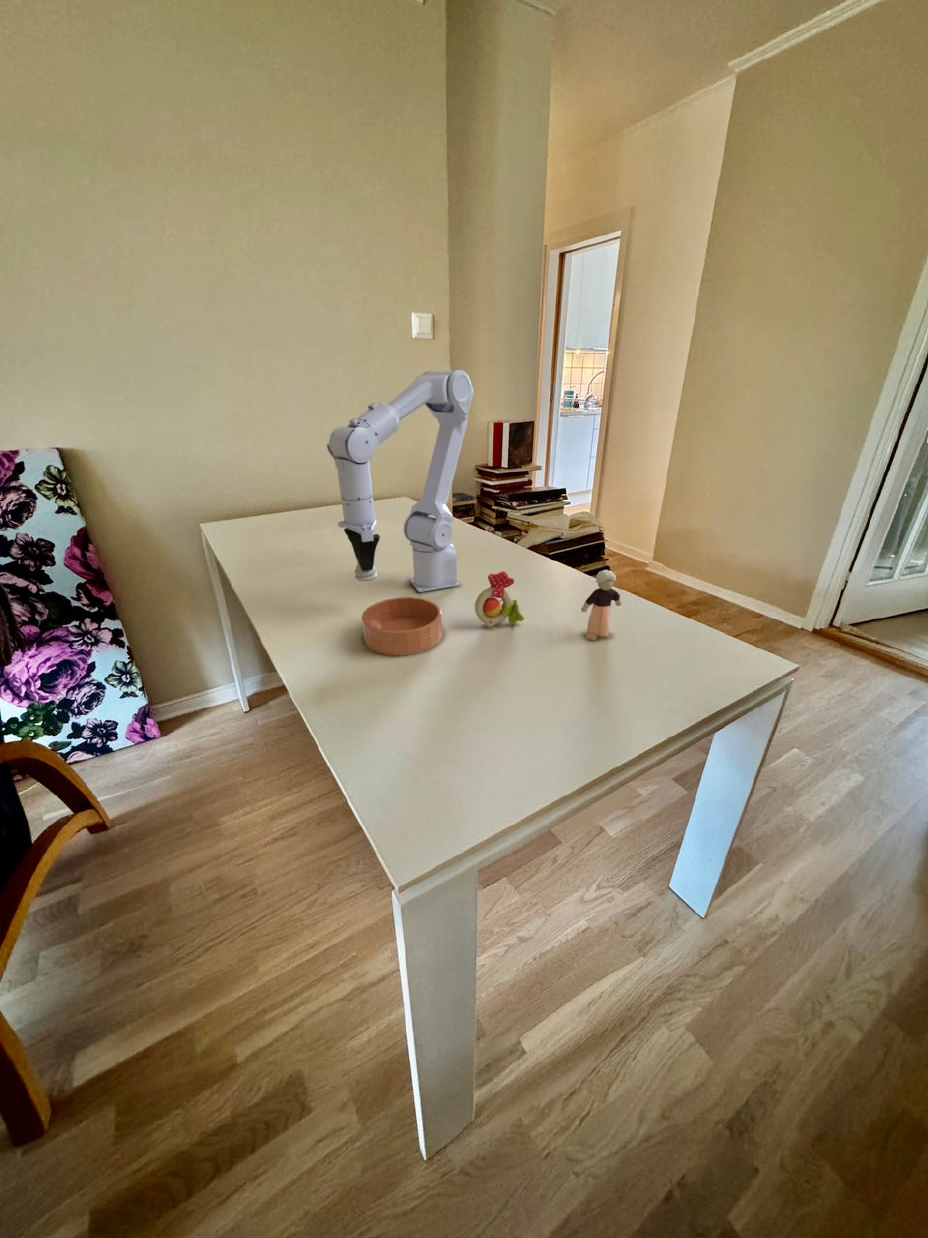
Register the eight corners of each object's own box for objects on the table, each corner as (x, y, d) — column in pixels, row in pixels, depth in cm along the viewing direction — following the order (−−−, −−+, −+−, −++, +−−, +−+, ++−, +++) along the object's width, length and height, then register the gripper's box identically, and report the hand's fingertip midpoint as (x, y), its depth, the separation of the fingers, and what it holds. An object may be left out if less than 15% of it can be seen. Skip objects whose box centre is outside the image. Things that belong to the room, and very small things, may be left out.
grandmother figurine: (589, 644, 84) (597, 578, 79) (575, 635, 87) (582, 570, 82) (622, 634, 88) (632, 569, 82) (607, 625, 91) (616, 562, 85)
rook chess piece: (382, 576, 96) (378, 537, 92) (366, 583, 93) (362, 544, 89) (365, 572, 98) (361, 534, 94) (350, 579, 95) (344, 540, 91)
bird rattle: (496, 644, 89) (535, 617, 91) (474, 599, 83) (516, 571, 85) (481, 629, 94) (517, 604, 96) (459, 586, 88) (498, 560, 90)
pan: (428, 612, 97) (427, 592, 95) (452, 645, 85) (452, 623, 83) (358, 625, 92) (355, 604, 90) (373, 662, 81) (370, 639, 78)
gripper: (330, 491, 93) (339, 557, 99) (340, 508, 81) (350, 582, 87) (366, 487, 95) (373, 552, 101) (381, 504, 83) (388, 577, 89)
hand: (365, 566), depth 94 cm, fingers closed on rook chess piece, 3 cm apart
